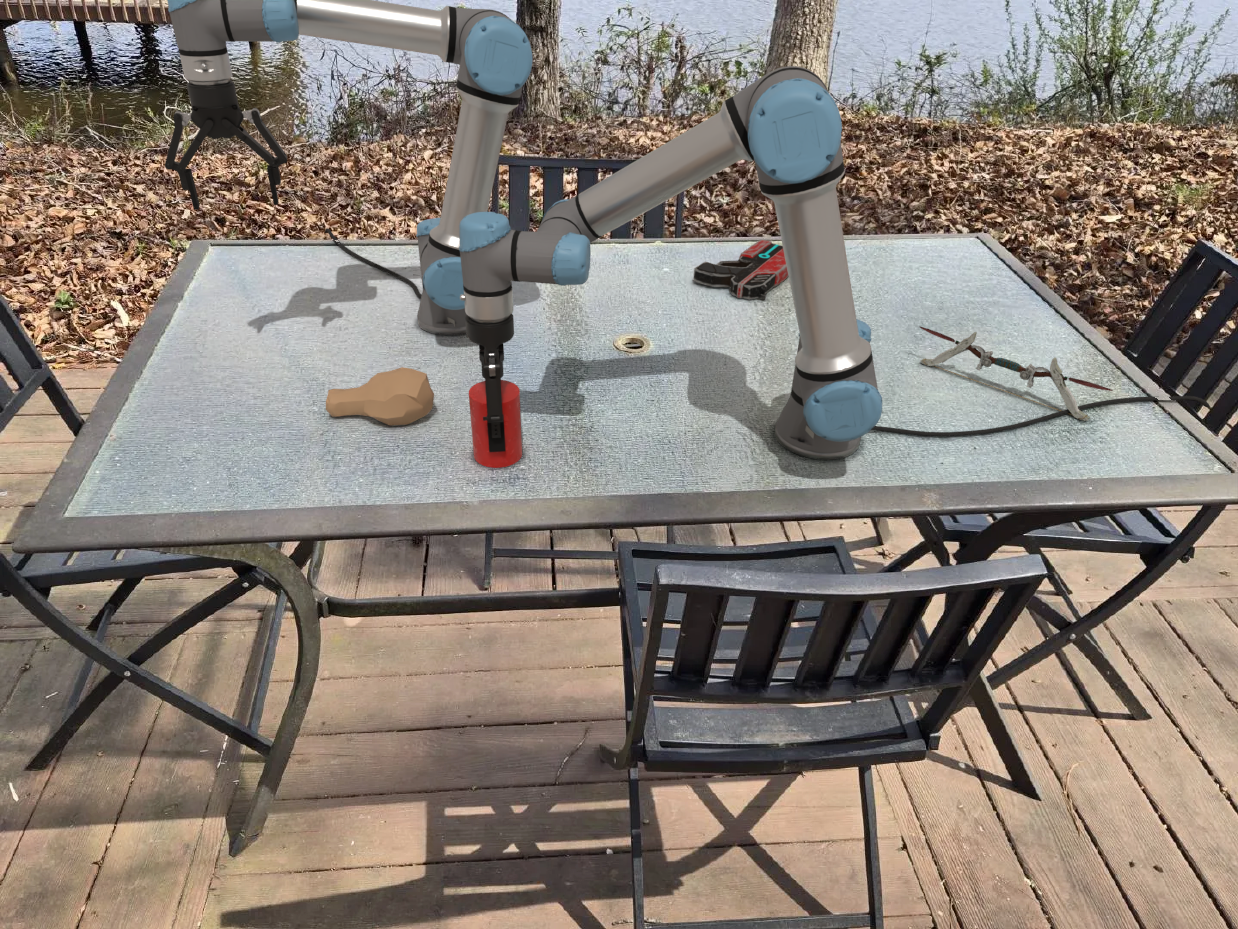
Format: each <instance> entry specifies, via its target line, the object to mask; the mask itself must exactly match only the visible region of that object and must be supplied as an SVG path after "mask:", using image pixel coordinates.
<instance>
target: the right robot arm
mask: <svg viewBox="0 0 1238 929" xmlns="http://www.w3.org/2000/svg"><path fill="white" fill-rule="evenodd" d="M842 132H843V123H842V117H841V114H840V110H839V108H838V105H837V103H836V100H834V98H833V97H832V95H831V94H830V92H829V89H828V88H827V86H826V84H825V82H824V81H823V80H822V79H821V78H820V76H818V74H816V73H815V72H813V71H812V70H810V69H808V68H805V67H802V66H797V65H786V66H782V67H778V68H775V69H774V70H771V71H769V72H767V73H765V74H764V75H763V76H761V77H760V78H758V79H757V80H755V81H754V82H752V83H751V84H749V85H747V86H746V87H744V88H742V89H741V90H740V91H739V92H737V93H735V94H734V95H732V96H731V97H729V98H727V99H725V100H723V101H722V105H721V106H720V111H719V112H717V113H716V114H714V115H712V116H710V117H708V118H707V119H705V120H704V121H702V122H700V123H699V124H696V125H695V126H693V127H691V128H689V129H688V130H686V131H684V132H683V133H681V134H679V135H677V136H676V137H674V138H673V139H671V140H669V141H668V142H665V143H664V144H662V145H660V146H659V147H657V148H655V149H654V150H652V151H650V152H648V153H647V154H645V155H644V156H641V157H640V158H638V159H637V160H634V161H633V162H631V163H630V164H628V165H626V166H624V167H623V168H621V169H619V170H618V171H616V172H614V173H613V174H610V175H609V176H607V177H606V178H604V179H602V180H601V181H599V182H597V183H596V184H594V185H591V186H590V187H588V188H587V189H585V190H584V191H581V192H579V193H578V194H577V195H575V196H573V197H571V198H565V199H560V200H558V201H556V202H554V203H553V204H552V205H551V206H550V207H549V208H548V209H547V210H546V212H545V213H544V215H543V217H542V221H541V223H540V224H539V226H538V228H537V230H536V231H526V230H524V231H523V230H516V229H512V227H511V225H510V220H509V218H508V217H507V216H506V215H505V214H503V213H497V212H494V211H488V212H477V213H472V214H469V215H467V216H465V217H464V218H463V219H462V220H461V222H460V225H459V231H460V247H459V250H460V257H461V267H462V277H463V289H464V294H462V295H460V300H462V301H465V312H466V314H467V315H466V318H465V319H466V332H467V333H466V337H467V339H468V340H469V341H470V342H472V343H473V344H476V345H478V349H479V350H478V355H479V362H480V363H481V377H482V378H483V379H484V381H485V387H486V403H487V417H483V421H487V427H488V442H489V452H504V451H505V433H504V415H503V413H502V395H501V380H502V378H503V377H504V361H505V348H504V347H505V346H504V344H506V343H508V342H509V341H512V339H513V337H514V335H515V322H514V321H515V320H514V318H515V317H514V314H513V312H514V292H513V291H514V290H513V282H519V283H533V284H534V283H535V284H548V285H557V286H581V285H584V284H585V283H586V282H587V281H588V279H589V275H590V269H591V250H592V249H591V244H592V243H594V242H595V241H596V240H598V239H600V238H602V237H603V236H605V235H607V234H609V233H611V232H612V231H615V230H616V229H618V228H620V227H622V226H624V225H625V224H627V223H628V222H631V221H633V220H634V219H636V218H638V217H640V216H641V215H643V214H645V213H647V212H649V211H650V210H652V209H655V208H656V207H657V206H659V205H662V204H663V203H665V202H667V201H668V200H671V199H672V198H674V197H676V196H677V195H679V194H681V193H684V192H685V191H687V190H689V189H691V188H693V187H694V186H696V185H697V184H700V183H701V182H703V181H705V180H706V179H709V178H710V177H712V176H714V175H716V174H718V173H719V172H722V171H723V170H725V169H727V168H728V167H730V166H732V165H734V164H736V163H738V162H739V161H741V160H743V161H748V162H754V166H755V170H756V176H757V179H758V180H757V181H758V184H759V185H758V186H759V189H760V193H761V194H762V195H763V196H765V197H766V198H768V199H770V200H771V201H772V202H773V204H774V210H775V214H776V219H777V224H778V230H779V234H780V239H781V240H780V241H781V246H783V250H784V256H785V261H786V266H787V271H788V282H789V285H790V291H791V297H792V301H793V305H794V311H795V318H796V322H797V328H798V337H799V339H798V345H797V350H796V355H795V357H794V371H793V376H792V384H791V391H790V395H789V397H788V398H787V401H786V402H785V404H784V406H783V407H782V410H781V412H780V414H778V418H777V420H776V423H775V426H774V427H775V428H774V437H775V439H776V440H777V442H778V443H779V445H780V446H782V447H783V448H784V449H786V450H787V451H788V452H791V453H793V454H795V455H797V456H801V457H804V458H808V459H812V460H822V461H832V460H840V459H843V458H846V457H849V456H851V455H853V454H855V453H856V452H857V451H858V449H859V447H860V445H861V444H860V443H861V439H862V437H863V436H865V435H867V434H869V433H870V432H871V431H876V432H886V433H894V434H901V435H902V434H903V435H910V436H918V437H919V436H920V437H934V438H935V437H938V438H940V437H941V438H943V437H944V438H949V437H968V436H977V435H978V436H979V435H987V434H994V433H999V432H1006V431H1010V430H1014V429H1020V428H1023V427H1027V426H1030V425H1034V424H1037V423H1038V424H1039V423H1040V422H1046V421H1048V420H1051V419H1055V418H1058V417H1061V416H1064V415H1069V414H1068V413H1070V414H1072V413H1071V412H1070V411H1069V410H1068V408H1066V409H1063V410H1061V411H1055V412H1054V413H1049V414H1046V415H1044V416H1040V417H1038V418H1033V419H1028V420H1026V421H1021V422H1017V423H1014V424H1008V425H1004V426H1003V425H1002V426H997V427H991V428H985V429H976V430H975V429H974V430H962V431H923V430H912V429H906V428H905V429H904V428H898V427H897V428H896V427H891V426H890V427H888V426H880V425H877V424H878V423H879V421H880V420H881V417H882V413H883V397H882V394H881V393H880V390H879V387H878V383H877V377H876V371H875V363H874V357H873V350H872V345H871V342H872V328H871V326H870V325H869V324H868V323H867V322H865V321H863V320H861V319H858V318H857V314H856V309H855V308H856V307H855V301H854V295H853V289H852V282H851V276H850V269H849V263H848V262H849V261H848V256H847V251H846V243H845V236H844V231H843V230H844V229H843V225H842V218H841V211H840V206H839V205H840V204H839V199H838V198H839V197H838V192H837V185H838V184H839V182H840V181H841V179H842V178H843V177H844V175H845V173H846V168H845V162H844V155H843V148H842V142H841V140H842ZM1155 397H1156V396H1133V397H1122V398H1113V399H1107V400H1100V401H1095V402H1090V403H1086V404H1081V405H1077V406H1078V409H1079V410H1080V411H1082V410H1087V409H1091V408H1096V407H1100V406H1106V405H1113V404H1121V403H1134V402H1151V401H1152V402H1160V401H1159V400H1158V399H1157V398H1155ZM1168 397H1169V398H1170V399H1171V400H1173V401H1172V402H1175V401H1176V402H1177V401H1193V402H1197V403H1200V404H1201V405H1202V406H1203V407H1205V408H1211V405H1210V403H1208V402H1207V401H1206V400H1205V399H1203V398H1201V397H1198V396H1194V395H1176V396H1175V395H1174V396H1168Z"/></svg>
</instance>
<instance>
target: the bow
mask: <svg viewBox="0 0 1238 929" xmlns="http://www.w3.org/2000/svg"><path fill="white" fill-rule="evenodd" d="M918 328H920V329H922V330H923V331H925V332H927V333H929V334H931V335H933V336H935V337H937V338H940V339H943V340H945V341H948V342H952V343H954V344H955V345H956V346H954V347H952V348H948V349H946V350H944V351H943V352H941V353H939V354H938V355H936V356H935V357H934V358H922V359H920V363H921V364H923V365H925V366H927V367H934V368H937V369H940V370H942V371H945V372H948V373H951V374H953V375H957V376H958V377H959V376H960V377H963V378H965V379H968V380H971V381H973V382H976V383H979V384H982V385H985V386H988V387H991V388H993V389H996V390H999V391H1003V392H1005V393H1008V394H1010V395H1014V396H1016V397H1019V398H1022V399H1024V400H1027V401H1030V402H1032V403H1036V404H1039V405H1042V406H1045V407H1047V408H1050V409H1052V410H1056V411H1057V412H1060V411H1062V410H1061V409H1059V408H1056V407H1052V406H1050V405H1047V404H1044V403H1042V402H1038V401H1036V400H1033V399H1030V398H1027V397H1025V396H1021V395H1019V394H1016V393H1013V392H1010V391H1007V390H1004V389H1001V388H999V387H996V386H993V385H990V384H987V383H985V382H981V381H979V380H976V379H973V378H970V377H967V376H965V375H962V374H959V373H957V372H953V371H951V370H948V369H945V368H942V367H940V366H937V365H939V364H943V363H945V362H947V361H948V360H949V359H951V358H953V357H955V356H957V355H959V354H961V353H965V352H967V351H969V352H970V353H972V354H973V355H974V356H975V357H976V358H978V359H979V362H978V363H977V364H976V367H975V370H977V371H981V370H982V369H983V367H985V368H990V367H991V366H992V365H995V366H998V367H1000V368H1004V369H1007V370H1009V371H1012V372H1016V373H1019V378H1020V379H1021V380H1023V381H1027V382H1026V384H1027V385H1026V387H1027V388H1029V389H1032V387H1034V383H1035V380H1034V379H1035V378H1050V379H1051V381H1052V382H1053V383H1054V386H1055V387H1056V389H1057V390H1058V392H1059V394H1060V396H1061V399H1062V400H1063V403H1064V405H1065V407H1066V409H1068V410H1069V411H1070V412H1071V413H1068V414H1067V415H1069V416H1072V417H1073V418H1076V419H1077V420H1080V421H1084V422H1086V421H1089V419H1090V418H1091V417H1090V416H1088V414H1086V413H1085V412H1083V411H1082V410H1079V409H1078V406H1079V405H1078V403H1077V400H1076V398H1075V396H1074V395H1073V393H1072V391H1071V389H1070V388H1069V387H1068V386H1067V384H1066V381H1067V380H1068V381H1069V382H1072V383H1075V384H1078V385H1081V386H1084V387H1087V388H1092V389H1095V390H1101V391H1102V390H1103V391H1109V392H1113V391H1114V390H1113V389H1111V388H1110V387H1106V386H1103V385H1101V384H1100V385H1099V384H1097V383H1093V382H1091V381H1088V380H1084V379H1080V378H1075V377H1068V376H1066V375H1065V376H1064V374H1063V371H1062V368H1061V367H1060V366H1059V363H1058V358H1057V357H1053V358H1052V359H1051V362H1050V366H1049V369H1048V368H1047V367H1044V366H1036V367H1035V365H1033V364H1032V363H1030V364H1028V365H1027V366H1025V367H1023V366H1022V365H1021V364H1020V363H1019V362H1016V361H1014V360H1010V359H1007V358H1004V357H994V356H993V355H994V352H993V350H990V351H989V350H987V351H986V350H985V349H984V348H983V347H982V346H980V345H978V344H977V345H976V344H973V343H974V342H975V340H976V339H977V338H976V337H977V334H978V333H977V331H974V332H973V333H972V334H971V335H969V336H968V337H966V338H963V339H962V340H961V341H959V340H958V339H957V340H956V339H955V338H952V337H950V336H949V335H945V334H943V333H941V332H938V331H935V330H933V329H929V328H927V327H923V326H920V325H919V326H918ZM972 344H973V345H972Z"/></svg>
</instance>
